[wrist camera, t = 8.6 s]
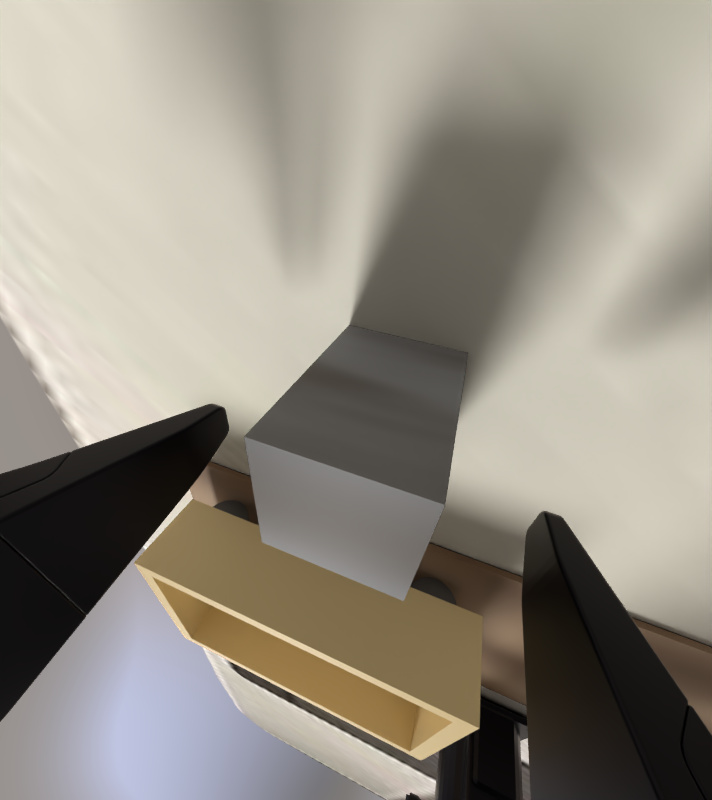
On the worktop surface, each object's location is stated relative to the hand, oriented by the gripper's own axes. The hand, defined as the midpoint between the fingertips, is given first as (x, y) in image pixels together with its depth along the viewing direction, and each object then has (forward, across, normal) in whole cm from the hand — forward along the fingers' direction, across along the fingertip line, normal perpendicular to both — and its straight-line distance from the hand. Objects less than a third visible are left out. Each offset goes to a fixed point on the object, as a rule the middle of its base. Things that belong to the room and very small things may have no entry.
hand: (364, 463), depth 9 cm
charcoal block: (+4, 0, 0) cm, 4 cm away
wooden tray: (+4, +2, +15) cm, 16 cm away
